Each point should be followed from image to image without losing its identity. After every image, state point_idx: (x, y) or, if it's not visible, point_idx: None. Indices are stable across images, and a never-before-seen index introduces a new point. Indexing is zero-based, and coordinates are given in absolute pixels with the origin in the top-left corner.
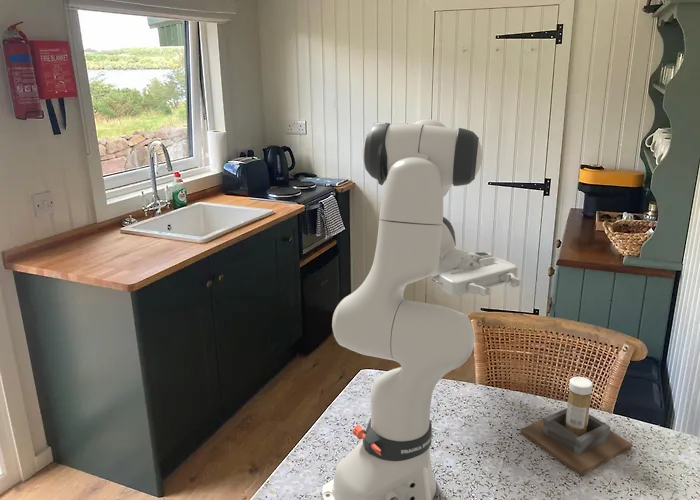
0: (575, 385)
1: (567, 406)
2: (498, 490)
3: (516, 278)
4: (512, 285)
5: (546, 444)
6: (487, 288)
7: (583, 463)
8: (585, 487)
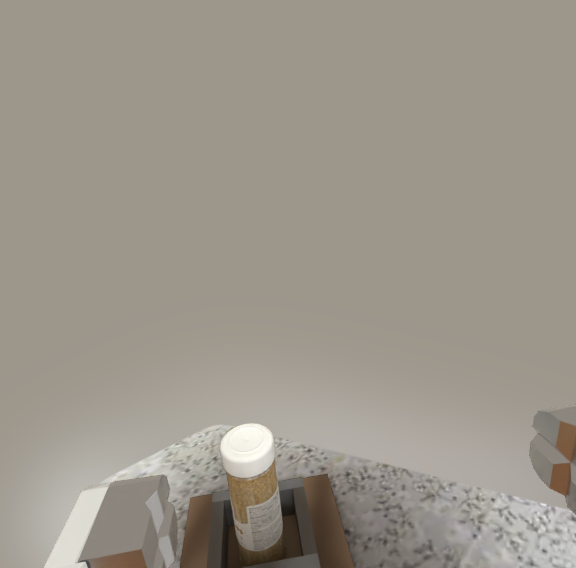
0: (271, 434)
1: (274, 507)
2: (489, 497)
3: (81, 517)
4: (166, 565)
5: (343, 551)
6: (565, 408)
7: (311, 486)
8: (337, 463)
